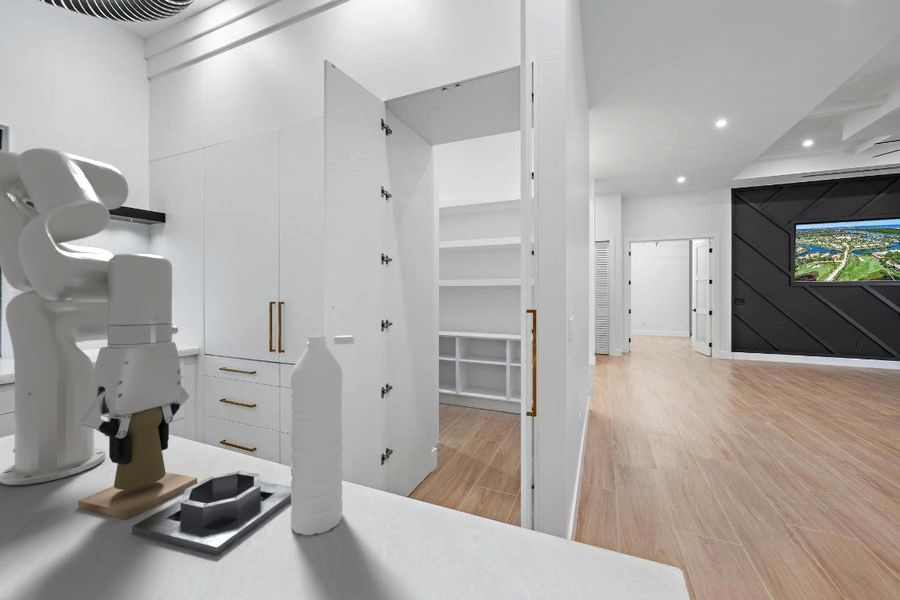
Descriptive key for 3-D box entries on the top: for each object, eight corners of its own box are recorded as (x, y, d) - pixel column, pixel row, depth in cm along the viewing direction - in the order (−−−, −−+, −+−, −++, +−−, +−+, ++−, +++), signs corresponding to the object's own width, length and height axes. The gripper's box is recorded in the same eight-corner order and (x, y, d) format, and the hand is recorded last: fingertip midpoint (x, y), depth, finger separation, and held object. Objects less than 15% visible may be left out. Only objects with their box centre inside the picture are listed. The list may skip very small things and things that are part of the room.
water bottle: (279, 530, 47) (279, 336, 47) (313, 504, 53) (313, 332, 53) (336, 545, 44) (336, 338, 44) (365, 515, 50) (365, 334, 51)
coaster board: (78, 507, 52) (78, 500, 52) (152, 475, 62) (152, 469, 62) (127, 519, 50) (127, 512, 50) (197, 484, 59) (197, 477, 59)
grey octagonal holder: (131, 533, 47) (131, 506, 47) (227, 481, 60) (227, 460, 60) (217, 555, 43) (217, 525, 43) (299, 494, 56) (299, 471, 56)
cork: (136, 491, 52) (136, 414, 52) (102, 487, 54) (102, 412, 54) (175, 472, 58) (175, 403, 58) (144, 468, 59) (144, 400, 59)
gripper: (178, 330, 65) (177, 433, 65) (51, 340, 49) (51, 477, 49) (210, 332, 63) (210, 438, 63) (89, 343, 47) (89, 486, 47)
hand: (140, 454), depth 56 cm, fingers closed on cork, 4 cm apart
